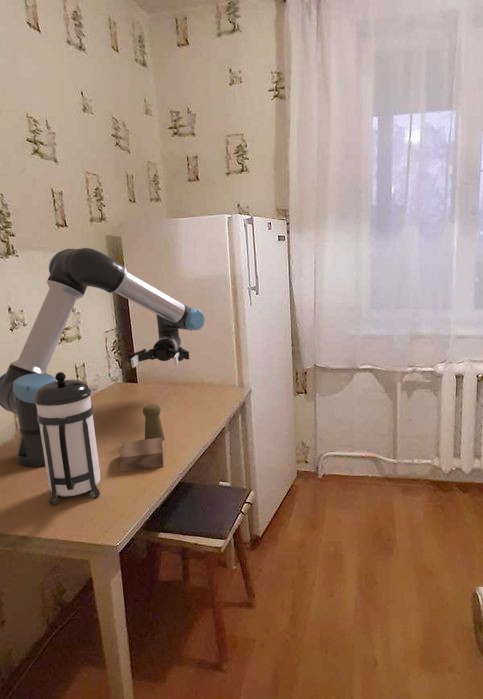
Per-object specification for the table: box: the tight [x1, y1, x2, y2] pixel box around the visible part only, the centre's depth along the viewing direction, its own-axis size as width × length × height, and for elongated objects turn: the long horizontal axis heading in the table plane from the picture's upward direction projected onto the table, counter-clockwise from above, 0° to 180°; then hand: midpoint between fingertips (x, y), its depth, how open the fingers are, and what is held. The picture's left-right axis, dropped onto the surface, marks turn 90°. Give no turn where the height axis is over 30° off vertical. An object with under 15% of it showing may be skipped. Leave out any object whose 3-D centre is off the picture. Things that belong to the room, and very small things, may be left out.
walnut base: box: [118, 438, 164, 473], centre depth 138 cm, size 11×11×4 cm
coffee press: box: [34, 371, 101, 506], centre depth 118 cm, size 17×16×30 cm
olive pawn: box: [142, 403, 166, 442], centre depth 152 cm, size 6×6×11 cm
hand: (153, 362), depth 158 cm, fingers open, 13 cm apart
